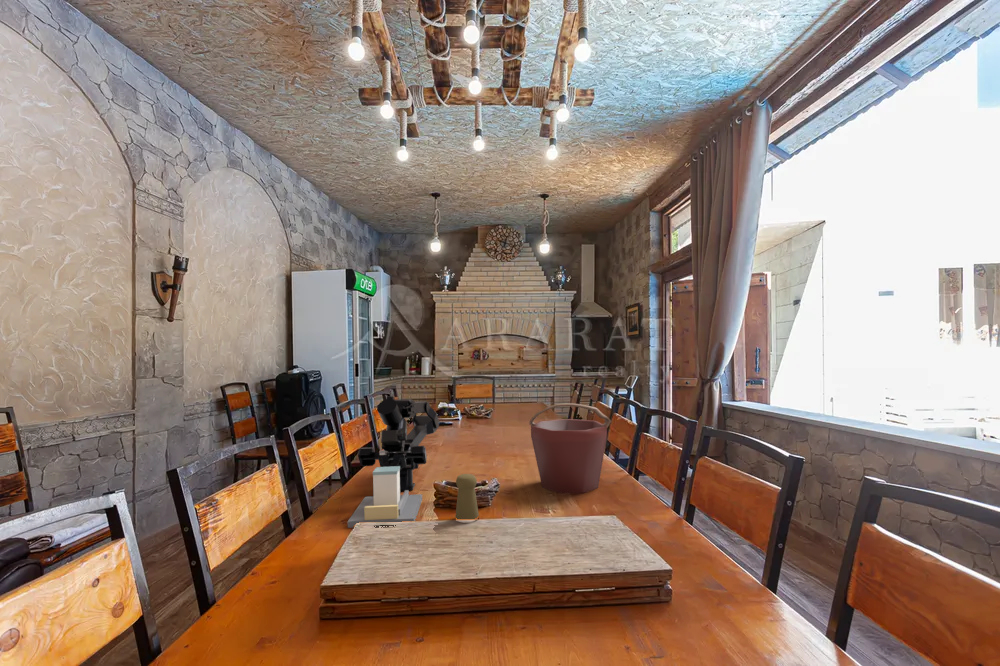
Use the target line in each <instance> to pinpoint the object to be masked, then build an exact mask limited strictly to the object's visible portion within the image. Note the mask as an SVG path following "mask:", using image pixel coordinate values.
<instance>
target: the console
mask: <svg viewBox="0 0 1000 666" xmlns="http://www.w3.org/2000/svg"><path fill="white" fill-rule="evenodd" d="M409 491H410V490H405V491H404V492H403V494H400V502H399V504H398V505H379V506H374V495H372V496H365V497H364V498H363V499H362V500H361V502H360V503H359V505H358V506H357V508H356V509H355V511H353V513H352V515H351V516H350V517H349V519H348V521H347V528H348V529H350V528H353V526H354V525H355V524H356V523H359V522H402V521H415V522H416V520H415V519H417V517H418V513H419V510H420V507H421V504H422V501H423V494H421V493H420V494H419V493H417V494H416V493H415V494H409ZM416 516H417V517H416Z"/></svg>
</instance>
